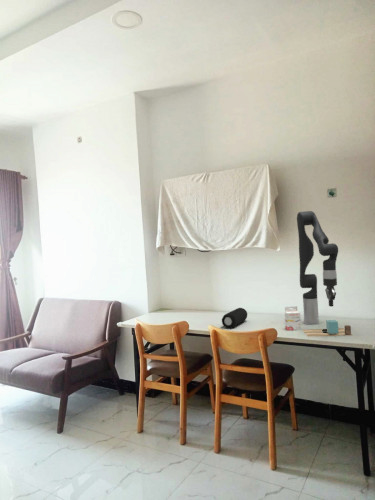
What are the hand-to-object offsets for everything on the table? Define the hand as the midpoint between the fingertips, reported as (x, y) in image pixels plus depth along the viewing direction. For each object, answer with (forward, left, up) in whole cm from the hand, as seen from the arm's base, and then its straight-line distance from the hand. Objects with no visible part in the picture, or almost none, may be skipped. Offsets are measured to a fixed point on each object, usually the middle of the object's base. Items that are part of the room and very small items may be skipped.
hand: (331, 306), depth 211 cm
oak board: (-2, -3, -17) cm, 17 cm away
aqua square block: (+2, -1, -15) cm, 15 cm away
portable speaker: (-32, -56, -17) cm, 67 cm away
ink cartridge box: (-12, -21, -17) cm, 29 cm away
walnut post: (+4, +7, -17) cm, 19 cm away
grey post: (+2, -1, -17) cm, 17 cm away
